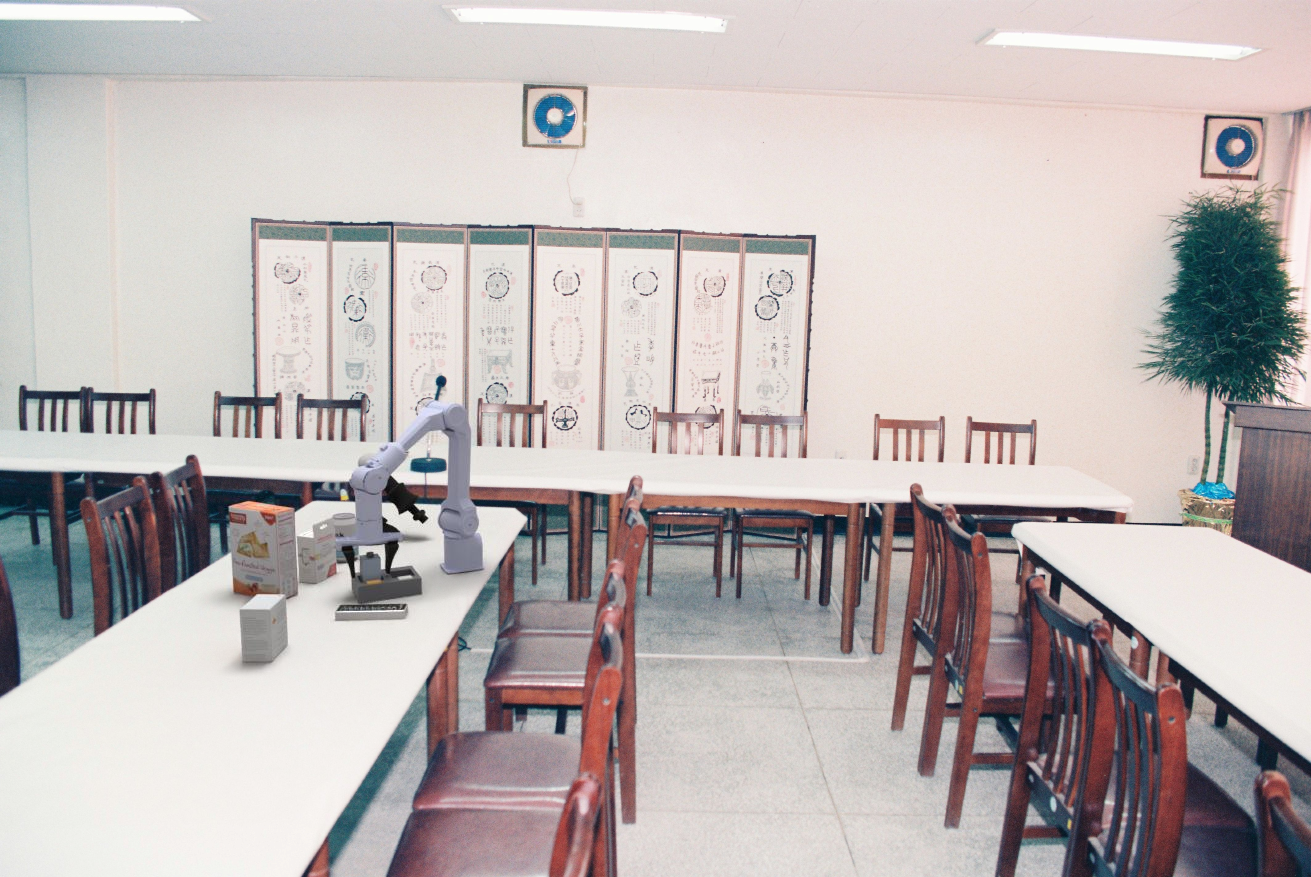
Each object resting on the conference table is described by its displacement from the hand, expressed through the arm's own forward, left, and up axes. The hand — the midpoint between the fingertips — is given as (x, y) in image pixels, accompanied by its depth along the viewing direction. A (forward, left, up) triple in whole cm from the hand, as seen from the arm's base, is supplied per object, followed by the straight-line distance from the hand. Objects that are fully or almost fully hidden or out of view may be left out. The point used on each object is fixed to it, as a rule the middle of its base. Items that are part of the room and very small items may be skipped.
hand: (370, 574), depth 179 cm
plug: (0, 0, -4) cm, 4 cm away
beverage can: (+2, -29, -5) cm, 29 cm away
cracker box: (+22, -10, -5) cm, 24 cm away
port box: (-3, 0, -5) cm, 6 cm away
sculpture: (-12, -44, -5) cm, 46 cm away
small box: (+24, +24, -5) cm, 34 cm away
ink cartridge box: (+10, -17, -5) cm, 20 cm away
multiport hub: (+2, +13, -5) cm, 15 cm away
